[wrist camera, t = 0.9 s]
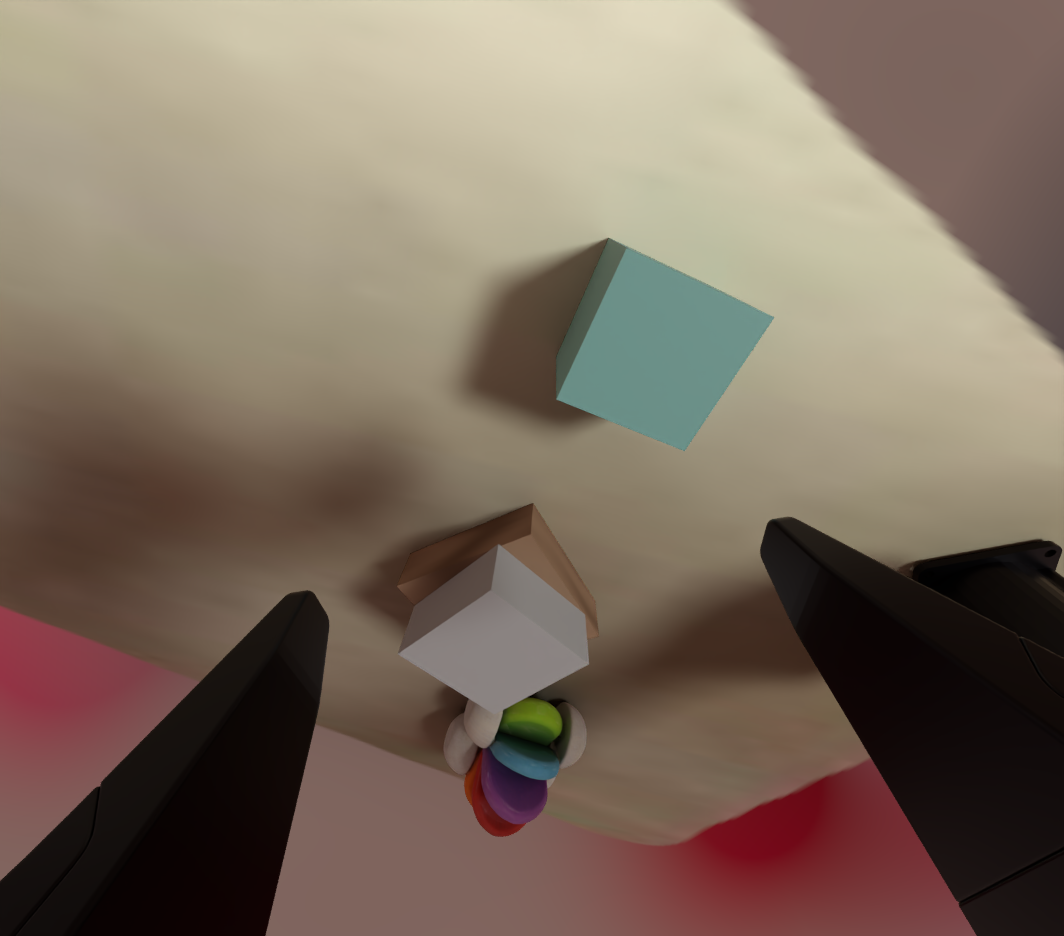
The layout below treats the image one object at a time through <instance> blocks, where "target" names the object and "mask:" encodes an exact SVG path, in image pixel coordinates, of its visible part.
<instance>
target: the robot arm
mask: <svg viewBox="0 0 1064 936" xmlns="http://www.w3.org/2000/svg"><path fill="white" fill-rule="evenodd" d="M760 553H761V558H762V561H763V563H764V565H765V567H766V570H767V572H768V574H769V576H770V578H771V580H772V583H773V585H774V587H775V589H776V591H777V593H778V595H779V598H780V600H781V602H782V604H783V606H784V608H785V611H786V613H787V615H788V617H789V619H790V621H791V623H792V625H793V627H794V629H795V631H796V633H797V634H798V636H799V638H800V640H801V642H802V643H803V645H804V647H805V648H806V650H807V652H808V653H809V655H810V657H811V658H812V660H813V662H814V663H815V665H816V667H817V668H818V670H819V672H820V673H821V675H822V677H823V678H824V680H825V682H826V683H827V685H828V687H829V688H830V690H831V692H832V693H833V695H834V697H835V698H836V700H837V702H838V703H839V705H840V707H841V709H842V710H843V712H844V714H845V715H846V717H847V719H848V720H849V722H850V724H851V725H852V727H853V729H854V730H855V732H856V734H857V735H858V737H859V739H860V740H861V742H862V744H863V745H864V747H865V749H866V750H867V752H868V754H869V755H870V757H871V759H872V760H873V762H874V764H875V765H876V767H877V769H878V770H879V772H880V774H881V775H882V777H883V779H884V781H885V782H886V784H887V785H888V787H889V789H890V790H891V792H892V794H893V796H894V797H895V799H896V800H897V802H898V804H899V806H900V807H901V809H902V811H903V812H904V814H905V816H906V817H907V819H908V821H909V822H910V824H911V826H912V827H913V829H914V831H915V832H916V834H917V835H918V837H919V839H920V841H921V842H922V844H923V846H924V847H925V849H926V851H927V852H928V854H929V856H930V858H931V859H932V861H933V863H934V864H935V866H936V867H937V869H938V871H939V872H940V874H941V876H942V878H943V879H944V881H945V882H946V884H947V886H948V888H949V889H950V891H951V892H952V894H953V896H954V898H955V899H956V901H958V902H959V907H960V908H961V910H962V912H963V914H964V915H965V917H966V919H967V920H968V922H969V923H970V925H971V927H972V929H973V930H974V932H975V934H976V935H977V936H1064V577H1062V576H1061V575H1060V574H1058V573H1057V572H1056V571H1055V570H1056V567H1057V564H1058V561H1059V558H1060V556H1061V553H1062V548H1061V547H1060V546H1058V545H1057V544H1055V543H1054V542H1052V541H1043V542H1037V543H1031V544H1026V545H1020V546H1015V547H1009V548H1003V549H998V550H992V551H987V552H981V553H976V554H970V555H964V556H959V557H953V558H948V559H942V560H936V561H931V562H925V563H922V564H920V565H918V566H916V567H915V569H914V571H913V578H912V579H911V578H909V577H907V576H905V575H903V574H901V573H899V572H897V571H895V570H893V569H891V568H889V567H888V566H886V565H884V564H882V563H880V562H878V561H876V560H874V559H872V558H870V557H868V556H866V555H865V554H863V553H861V552H859V551H857V550H855V549H853V548H851V547H849V546H847V545H845V544H843V543H842V542H840V541H838V540H836V539H834V538H832V537H830V536H828V535H826V534H824V533H822V532H820V531H819V530H817V529H815V528H813V527H811V526H809V525H807V524H805V523H803V522H801V521H799V520H797V519H795V518H793V517H783V518H777V519H772V520H770V521H769V522H768V523H767V526H766V530H765V533H764V537H763V541H762V544H761V549H760ZM328 633H329V619H328V616H327V614H326V612H325V610H324V609H323V607H322V606H321V604H320V602H319V601H318V599H317V597H316V596H315V594H314V593H313V592H311V591H308V590H307V591H300V592H293V593H290V594H288V595H286V596H285V597H284V598H283V599H282V600H281V601H280V602H279V603H278V604H277V605H276V606H275V607H274V608H273V609H272V610H271V611H270V612H269V613H268V614H267V615H266V616H265V617H264V618H263V619H262V620H261V621H260V622H259V623H258V624H257V625H256V626H255V627H254V628H253V629H252V630H251V631H250V632H249V633H248V634H247V635H246V636H245V637H244V638H243V639H242V640H241V641H240V642H239V643H238V644H237V645H236V646H235V647H234V648H233V649H232V650H231V651H230V652H229V653H228V654H227V655H226V656H225V657H224V658H223V659H222V660H221V661H220V662H219V663H218V664H217V665H216V667H215V668H214V669H213V670H212V671H211V672H210V673H209V674H208V675H207V676H206V677H205V678H204V679H203V680H202V681H201V682H200V683H199V684H198V685H197V686H196V687H195V688H194V689H193V690H192V691H191V692H190V693H189V694H188V695H187V696H186V697H185V698H184V699H183V700H182V701H181V702H180V703H179V704H178V705H177V706H176V707H175V708H174V709H173V710H172V711H171V712H170V713H169V714H168V715H167V716H166V717H165V718H164V719H163V720H162V721H161V722H160V723H159V724H158V725H157V726H156V727H155V728H154V729H153V730H152V731H151V732H150V733H149V734H148V735H147V736H146V737H145V738H144V739H143V740H142V741H141V742H140V743H139V744H138V745H137V746H136V747H135V748H134V749H133V750H132V751H131V752H130V753H129V754H128V756H127V757H125V759H123V760H122V761H121V762H120V764H118V766H117V767H116V768H115V769H114V770H113V771H112V772H111V773H110V774H109V775H108V776H107V777H106V778H105V779H104V780H103V781H102V782H101V786H100V787H96V788H95V789H94V790H93V791H92V792H91V793H90V794H89V795H88V796H87V797H86V798H85V799H84V800H83V801H82V802H81V803H80V804H79V805H78V806H77V807H76V808H75V809H74V810H73V811H72V812H71V813H70V814H69V815H68V816H67V817H66V818H65V819H64V820H63V821H62V822H61V823H60V824H59V825H58V826H57V827H56V828H55V829H54V830H53V831H51V832H50V834H48V835H47V836H46V838H45V839H43V840H42V841H41V842H40V843H39V844H38V846H36V847H35V848H34V849H33V850H32V851H31V852H30V853H29V854H28V855H27V856H26V857H25V858H24V859H23V860H22V861H21V862H20V863H19V864H18V865H17V866H15V867H14V869H12V870H11V871H10V872H9V873H8V874H7V875H6V876H5V877H4V878H3V879H2V880H1V881H0V936H265V935H266V931H267V927H268V923H269V918H270V914H271V910H272V905H273V901H274V897H275V893H276V888H277V884H278V880H279V876H280V872H281V867H282V862H283V859H284V855H285V850H286V846H287V842H288V837H289V833H290V829H291V824H292V820H293V816H294V812H295V807H296V803H297V799H298V795H299V791H300V786H301V782H302V778H303V773H304V769H305V765H306V761H307V757H308V752H309V748H310V744H311V739H312V735H313V731H314V727H315V723H316V718H317V713H318V709H319V703H320V697H321V690H322V682H323V674H324V665H325V657H326V649H327V641H328Z"/></svg>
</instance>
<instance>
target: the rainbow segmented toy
mask: <svg viewBox="0 0 1064 936" xmlns="http://www.w3.org/2000/svg"><path fill="white" fill-rule="evenodd" d="M586 741H587V730H586V725H585V722H584V720H583V717H582V716H581V714H580V713H579V711H578V710H577V709H576V708H575V707H573V706H572V705H571V704H569V703H566V702H563V703H561V704H559V705H558V706H557V708H555V707H554V706H552V705H551V704H550V703H548V702H546V701H543V700H540V699H535V698H525V699H523V700H521V701H519V702H517V703H515V704H513V705H512V706H510V707H508V708H506V709H504V710H502V711H500V712H498V713H496V714H495V715H494V714H493V713H491V712H489V711H488V710H486V709H485V708H483V707H481V706H480V705H478V704H477V703H475V702H473V701H472V700H470V699H469V700H468V702H467V705H466V709H465V712H464V713H462V714H460V715H458V716H457V717H456V718H455V719H454V720H453V721H452V722H451V724H450V726H449V728H448V730H447V733H446V737H445V741H444V748H443V749H444V755H445V759H446V761H447V763H448V765H449V766H450V767H451V769H452V770H453V771H454V772H456V773H457V774H459V775H464V774H466V777H465V782H464V787H465V794H466V797H467V799H468V801H469V803H470V804H471V805H472V807H473V810H474V813H475V815H476V818H477V820H478V822H479V823H480V825H481V826H482V827H483V828H484V829H485V830H486V831H487V832H488V833H490V834H491V835H493V836H498V837H499V836H500V837H503V836H509V835H511V834H514V833H515V832H517V831H519V830H520V829H521V828H522V827H523V826H524V825H525V824H526V823H527V822H530V821H531V820H533V819H535V818H536V817H537V816H538V815H539V814H540V813H541V811H542V810H543V808H544V806H545V804H546V801H547V789H548V788H549V787H550V786H551V785H552V783H553V782H554V780H555V778H556V775H557V773H558V770H559V769H562V768H567V767H569V766H571V765H573V764H574V763H575V762H576V761H577V760H578V759H579V758H580V757H581V755H582V754H583V751H584V749H585V746H586Z"/></svg>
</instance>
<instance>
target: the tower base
mask: <svg viewBox="0 0 1064 936" xmlns="http://www.w3.org/2000/svg"><path fill="white" fill-rule="evenodd" d="M498 544H499V545H501V546H502V547H503V548H504V549H505V550H507V551H508V552H509V553H510V554H512V555H513V556H514V557H515V558H516V559H518V560H519V561H520V562H521V563H523V564H524V565H525V566H526V567H527V568H529V569H530V570H531V571H532V572H534V573H535V574H536V575H537V576H539V577H540V578H541V579H542V580H543V581H545V582H546V583H547V584H548V585H550V586H551V587H552V588H553V589H554V590H556V591H557V592H558V593H559V594H561V595H562V596H563V597H564V598H565V599H567V600H568V601H569V602H570V603H572V604H573V605H574V606H575V607H576V608H578V609H579V610H580V611H581V612H583V613H584V614H585V620H586V633H587V640H588V639H591V638H594V637H598V636H599V634H598V624H597V614H596V604H595V600H594V598H593V597H592V595H591V594H590V592H589V590H588V589H587V587H586V586H585V584H584V583H583V581H582V579H581V578H580V576H579V575H578V573H577V571H576V570H575V568H574V567H573V565H572V564H571V562H570V560H569V559H568V557H567V556H566V554H565V553H564V551H563V549H562V548H561V546H560V545H559V543H558V541H557V540H556V538H555V537H554V535H553V534H552V532H551V530H550V529H549V527H548V526H547V524H546V523H545V521H544V519H543V518H542V516H541V515H540V513H539V512H538V510H537V508H536V507H535V505H534V504H533V503H532V504H530V505H527V506H525V507H523V508H520V509H518V510H515V511H513V512H510V513H508V514H505V515H503V516H501V517H498V518H496V519H493V520H491V521H488V522H486V523H484V524H481V525H479V526H476V527H474V528H471V529H469V530H466V531H464V532H462V533H459V534H457V535H454V536H452V537H449V538H447V539H445V540H442V541H440V542H437V543H435V544H432V545H430V546H427V547H425V548H423V549H420V550H418V551H415V552H413V553H410V556H409V558H408V561H407V563H406V565H405V568H404V570H403V572H402V575H401V577H400V580H399V582H398V584H397V587H398V588H399V589H400V591H401V592H402V593H403V594H404V595H405V596H406V597H407V598H408V599H409V600H410V601H411V602H412V604H413V605H414V606H415V605H416V604H418V603H419V602H420V601H422V600H423V599H424V598H426V597H427V596H428V595H430V594H431V593H432V592H434V591H435V590H437V589H438V588H439V587H441V586H442V585H443V584H445V583H446V582H447V581H449V580H450V579H451V578H453V577H454V576H456V575H457V574H458V573H460V572H461V571H462V570H464V569H465V568H466V567H468V566H469V565H471V564H472V563H473V562H475V561H476V560H477V559H479V558H480V557H481V556H483V555H484V554H485V553H487V552H488V551H490V550H491V549H492V548H494V547H495V546H496V545H498Z"/></svg>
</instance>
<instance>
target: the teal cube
mask: <svg viewBox="0 0 1064 936" xmlns="http://www.w3.org/2000/svg"><path fill="white" fill-rule="evenodd" d="M773 319H774V317H772V316H770V315H768V314H766V313H764V312H762V311H760V310H758V309H756V308H754V307H752V306H750V305H748V304H746V303H744V302H742V301H740V300H738V299H736V298H734V297H732V296H730V295H728V294H726V293H724V292H722V291H720V290H718V289H716V288H714V287H712V286H710V285H708V284H705V283H703V282H701V281H699V280H697V279H695V278H693V277H691V276H689V275H687V274H684V273H682V272H680V271H678V270H676V269H674V268H672V267H670V266H668V265H665V264H663V263H661V262H659V261H657V260H655V259H653V258H651V257H649V256H646V255H644V254H642V253H640V252H638V251H636V250H634V249H632V248H630V247H627V246H625V245H623V244H621V243H619V242H617V241H615V240H613V239H611V238H609V239H608V241H607V243H606V245H605V248H604V250H603V252H602V254H601V257H600V259H599V261H598V263H597V266H596V268H595V270H594V273H593V275H592V277H591V279H590V282H589V284H588V286H587V288H586V291H585V293H584V295H583V297H582V300H581V302H580V304H579V307H578V309H577V311H576V313H575V316H574V318H573V320H572V322H571V325H570V327H569V329H568V331H567V334H566V336H565V338H564V341H563V343H562V345H561V347H560V350H559V352H558V354H557V356H556V399H557V400H559V401H561V402H564V403H566V404H569V405H571V406H574V407H576V408H579V409H581V410H584V411H586V412H589V413H591V414H594V415H596V416H599V417H601V418H604V419H606V420H609V421H611V422H614V423H616V424H619V425H621V426H624V427H626V428H628V429H631V430H633V431H636V432H638V433H641V434H643V435H646V436H648V437H651V438H653V439H656V440H658V441H661V442H663V443H666V444H668V445H671V446H673V447H676V448H678V449H681V450H683V451H685V450H686V448H687V447H688V445H689V444H690V442H691V441H692V439H693V438H694V436H695V435H696V433H697V432H698V430H699V429H700V427H701V426H702V424H703V423H704V421H705V420H706V418H707V417H708V415H709V414H710V413H711V411H712V410H713V408H714V407H715V405H716V404H717V402H718V401H719V399H720V398H721V396H722V395H723V393H724V392H725V390H726V389H727V387H728V386H729V384H730V383H731V381H732V380H733V378H734V377H735V375H736V374H737V372H738V371H739V369H740V368H741V366H742V365H743V363H744V362H745V360H746V359H747V357H748V356H749V354H750V353H751V351H752V350H753V349H754V347H755V346H756V344H757V343H758V341H759V340H760V338H761V337H762V335H763V334H764V332H765V331H766V329H767V328H768V326H769V325H770V323H771V322H772V320H773Z"/></svg>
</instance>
